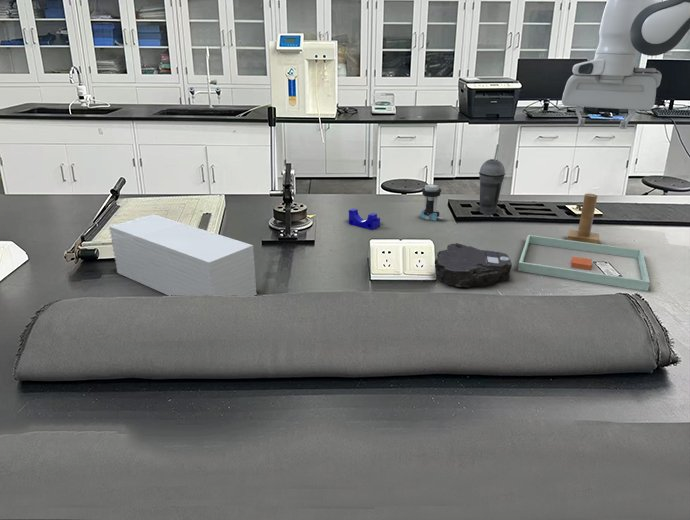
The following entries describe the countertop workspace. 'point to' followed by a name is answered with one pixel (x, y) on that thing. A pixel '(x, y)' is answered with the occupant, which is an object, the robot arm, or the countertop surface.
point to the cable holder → (369, 223)
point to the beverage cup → (490, 184)
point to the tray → (584, 275)
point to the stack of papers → (182, 258)
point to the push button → (430, 202)
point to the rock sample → (471, 266)
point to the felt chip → (581, 263)
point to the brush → (586, 222)
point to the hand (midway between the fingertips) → (601, 127)
